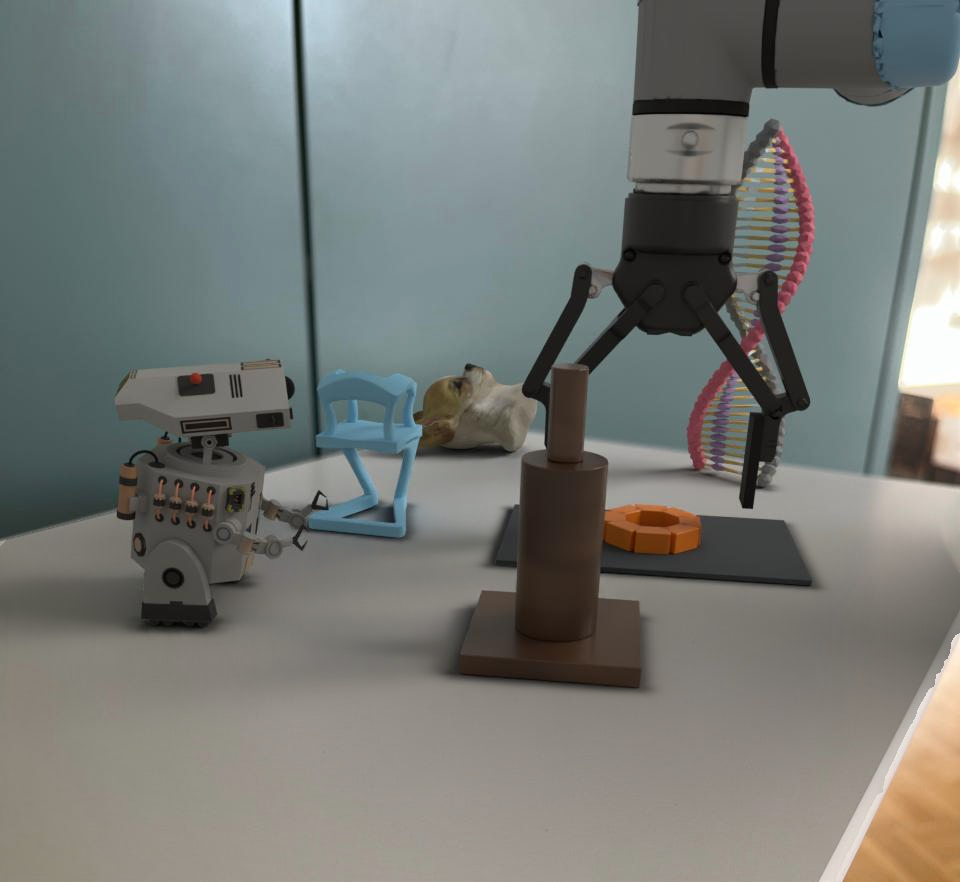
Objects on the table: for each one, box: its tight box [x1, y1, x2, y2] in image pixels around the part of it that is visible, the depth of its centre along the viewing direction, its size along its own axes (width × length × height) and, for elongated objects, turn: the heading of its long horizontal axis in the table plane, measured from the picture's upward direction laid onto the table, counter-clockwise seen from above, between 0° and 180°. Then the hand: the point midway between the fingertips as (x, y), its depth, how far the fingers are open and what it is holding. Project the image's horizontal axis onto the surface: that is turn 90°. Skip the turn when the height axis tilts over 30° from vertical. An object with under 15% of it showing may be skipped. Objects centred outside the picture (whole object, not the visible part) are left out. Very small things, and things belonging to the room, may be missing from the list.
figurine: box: [114, 358, 330, 628], centre depth 63 cm, size 9×12×15 cm
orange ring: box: [603, 503, 701, 555], centre depth 79 cm, size 7×7×2 cm
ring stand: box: [458, 362, 643, 688], centre depth 58 cm, size 10×10×16 cm
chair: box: [308, 368, 422, 539], centre depth 81 cm, size 8×8×12 cm
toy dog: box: [412, 362, 539, 452], centre depth 104 cm, size 11×9×15 cm
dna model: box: [686, 118, 816, 488], centre depth 91 cm, size 9×9×30 cm
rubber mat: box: [495, 503, 813, 586], centre depth 79 cm, size 22×14×1 cm, turn 83°
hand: (653, 498), depth 78 cm, fingers open, 13 cm apart
